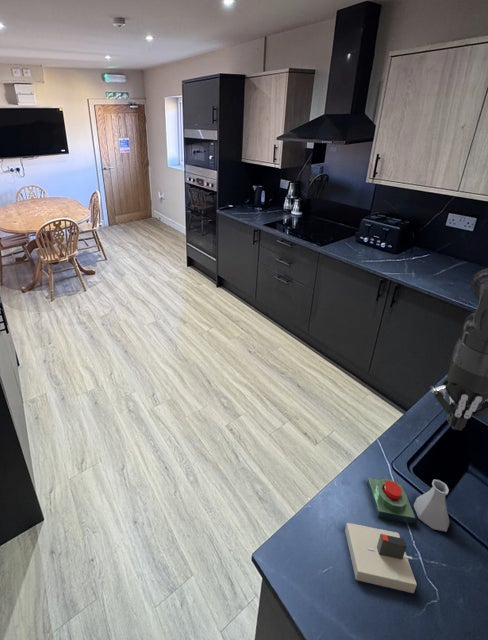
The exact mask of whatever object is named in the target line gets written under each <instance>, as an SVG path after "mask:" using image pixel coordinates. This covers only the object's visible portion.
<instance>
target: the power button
mask: <svg viewBox="0 0 488 640" xmlns="http://www.w3.org/2000/svg"><path fill="white" fill-rule="evenodd" d="M393 481H394V480H392V481H386V482H385V485H384V492H385V494H386V495H387V496H388V497H389V498H390V499H392V500H395V501H397V500H399V499H400V497H401V494H402V491H401V488H400V487H399V486H398V485H397V484H396V483H397V482H396V481H394V482H393ZM395 482H396V483H395Z"/></svg>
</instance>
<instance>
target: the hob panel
mask: <svg viewBox="0 0 488 640" xmlns="http://www.w3.org/2000/svg"><path fill="white" fill-rule="evenodd" d="M344 532H345V536H346V541H347V545H348V546H347V547H348V550H349V554H350V559H351V565H352V568H353V573H354V579H355V580H356V581H359V582H363V583H368V584H373V585H377V586H380V587H384V588H390V589H392V590H393V589H394V590H397V591H402V592H406V593H411V594H414V593H415V591H416V588H417V586H418V585H417V581H416V578H415V575H414V573H413V570H412V567H411V564H410V561H409V560H413V556H409V555H407V552H405V553H404V556H403V559H397V558H392V557H388V556H383V555H379V553H378V549H377V545H378V541H379V537H380V534H384V535H388V536H393V537H398V538H401V536H400V533H399V532H396V531H390V530H386V529H382V528H376V527H371V526H367V525H362V524H356V523H351V522H346V525H345V530H344Z"/></svg>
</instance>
